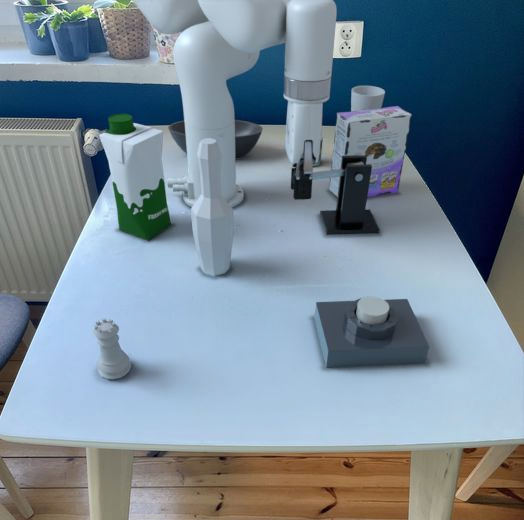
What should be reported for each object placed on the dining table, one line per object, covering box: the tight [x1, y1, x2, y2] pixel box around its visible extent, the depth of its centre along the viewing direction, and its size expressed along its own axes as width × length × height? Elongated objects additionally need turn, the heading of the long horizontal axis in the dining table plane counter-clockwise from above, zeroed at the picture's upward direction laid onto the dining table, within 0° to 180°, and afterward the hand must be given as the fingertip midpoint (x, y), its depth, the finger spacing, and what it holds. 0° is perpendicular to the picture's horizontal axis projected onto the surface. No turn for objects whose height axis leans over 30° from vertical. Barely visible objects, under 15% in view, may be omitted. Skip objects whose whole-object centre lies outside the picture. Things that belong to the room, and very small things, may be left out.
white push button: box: [356, 295, 389, 325], centre depth 76 cm, size 4×4×2 cm
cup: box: [350, 85, 386, 112], centre depth 133 cm, size 8×8×12 cm
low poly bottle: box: [190, 138, 235, 277], centre depth 85 cm, size 6×6×22 cm
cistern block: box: [313, 297, 430, 369], centre depth 78 cm, size 14×11×5 cm
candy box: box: [328, 105, 412, 199], centre depth 110 cm, size 14×6×16 cm, turn 108°
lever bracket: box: [319, 155, 380, 236], centre depth 100 cm, size 10×8×13 cm
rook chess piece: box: [92, 317, 132, 381], centre depth 71 cm, size 4×4×8 cm
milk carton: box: [98, 113, 172, 241], centre depth 96 cm, size 9×9×20 cm
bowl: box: [167, 119, 264, 160], centre depth 128 cm, size 12×22×6 cm, turn 88°
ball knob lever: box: [292, 161, 363, 183], centre depth 97 cm, size 13×3×3 cm, turn 94°
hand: (300, 192), depth 99 cm, fingers closed on ball knob lever, 3 cm apart
